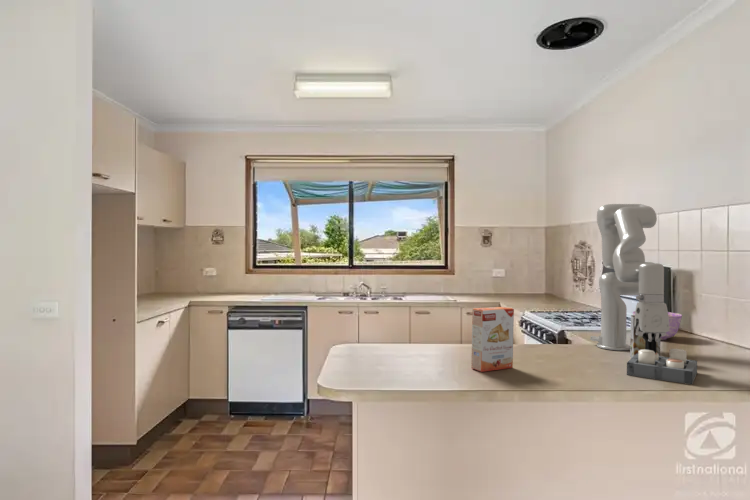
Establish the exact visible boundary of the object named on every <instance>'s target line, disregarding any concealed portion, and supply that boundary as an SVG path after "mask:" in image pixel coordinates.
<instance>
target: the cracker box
mask: <svg viewBox="0 0 750 500" xmlns="http://www.w3.org/2000/svg"><path fill="white" fill-rule="evenodd" d="M514 317H515V309H514V308H512V307H508V306H507V307H506V306H496V307H495V306H494V307H476V308H472V317H471V318H472V325H471V369H472V370H476V371H478V372H481V373H483V372H484V373H485V372H492V371H498V370H500V371H501V370H507V369H513V368H514V367H513V366H514V365H513V364H514V362H513V361H514V326H515V325H514V319H515V318H514Z"/></svg>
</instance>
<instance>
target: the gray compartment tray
mask: <svg viewBox="0 0 750 500" xmlns="http://www.w3.org/2000/svg"><path fill="white" fill-rule="evenodd" d="M667 359H669V357H667V356H662V355H660V356H659V361H657V360H655V365H650V364H642V363H638V354H636V355H635V356H634V357H632V358H631V357H630V359H628V361H627V362H626V376H630V377H631V376H632V377H638V378H645V379H651V380H657V381H658V380H660V381H665V382H673V383H680V384H685V383H686V384H687V385H693V383H694V381H695V378H696V376H697V373H698V360H694V359H693V360H692V359H686V364H684V369H680V368H673V367H666V360H667Z"/></svg>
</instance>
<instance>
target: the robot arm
mask: <svg viewBox="0 0 750 500" xmlns="http://www.w3.org/2000/svg"><path fill="white" fill-rule="evenodd" d="M657 218H658V217H657V213H656V211H655V209H654V208H652V207H651V206H649V205H645V204H641V203H611V204H609V203H608V204H604V205H601V206H600V207H599V208H598V209H597V211H596V223H597V226H598V229H599V232H600V235H601V236H600V237H601V258H602V259H601V260H602V264H603V266H604V267H605V268H606V269H610V270H611V269H612V270H613V271H610V272H605V273H602V274H601V275H600V276H599V279H598V287H599V292H600V301H601V302H600V308H601V310H600V317H601V318H600V335H598V336H596V335H590V337H589V340H590V341H591V342H592V341H593V342H597V343H596V347H598V348H600V349H602V350H611V351H630V344H627V312H628V311H627V305H626V303H625V301H624V300H623V299H622V298H621V296H636V297H635V299H636V301H637V300H638V302H637V303H636V305H635V310H634V311H635V320H634V326H635V330H636V333H635V334H636V335H639V336H642V337H643V339H644V340H645V349H646V350H652V351H654V352H655V353H656V342H657V341H658V340H659V338H660V337H661V336H664V335H666V332H668V331H669V316H668V312H669V311H668V307H667V306H668V305H667V303H665V297H664V296H665V292H664V291H665V267H664V265H663V264H662V263H659V262H658V263H656V262H651V261H650V262H649V261H646V256H645V253H644V250H643V249H642V248H640V247H642V246H643V245H644V244H645V242H646V240H647V239H646V234H645V231H644V229H652V228H653V227H655V226H656V225H657V224H656V223H657ZM642 332H643V333H642Z"/></svg>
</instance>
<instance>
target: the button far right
mask: <svg viewBox="0 0 750 500" xmlns="http://www.w3.org/2000/svg"><path fill="white" fill-rule="evenodd" d="M669 359H679V360H682V361H684V364H686V360H687V351H686V350H684V349H682V348H671V349H669Z"/></svg>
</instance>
